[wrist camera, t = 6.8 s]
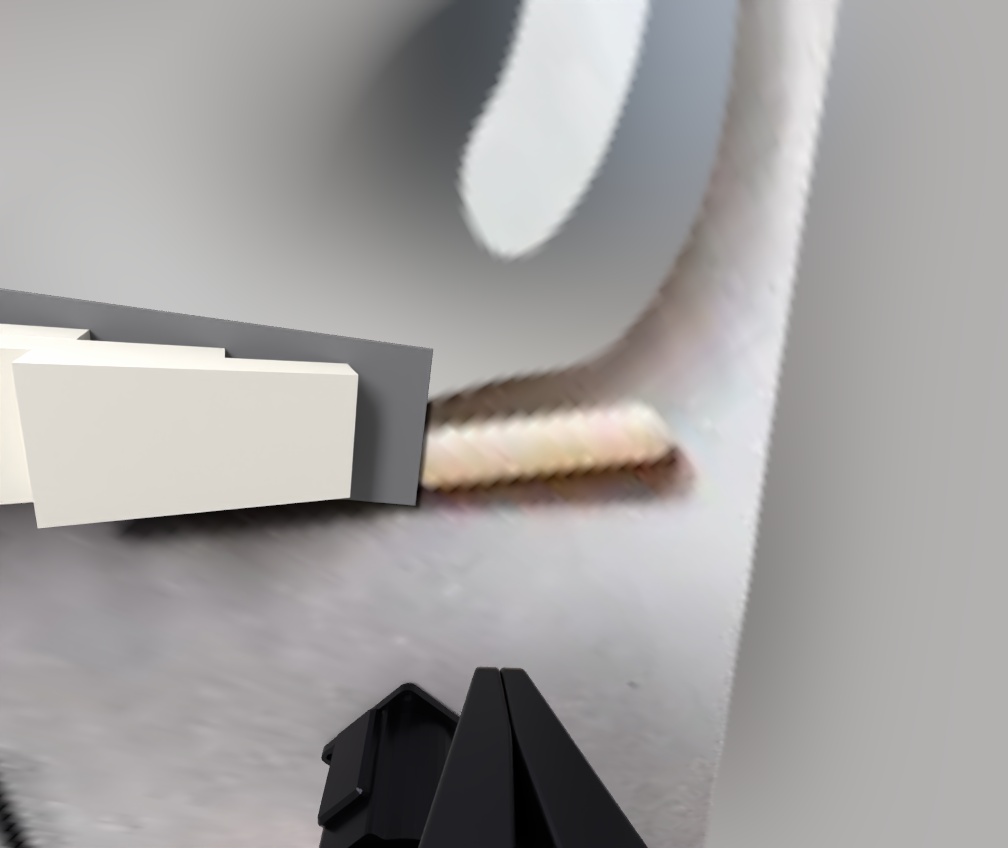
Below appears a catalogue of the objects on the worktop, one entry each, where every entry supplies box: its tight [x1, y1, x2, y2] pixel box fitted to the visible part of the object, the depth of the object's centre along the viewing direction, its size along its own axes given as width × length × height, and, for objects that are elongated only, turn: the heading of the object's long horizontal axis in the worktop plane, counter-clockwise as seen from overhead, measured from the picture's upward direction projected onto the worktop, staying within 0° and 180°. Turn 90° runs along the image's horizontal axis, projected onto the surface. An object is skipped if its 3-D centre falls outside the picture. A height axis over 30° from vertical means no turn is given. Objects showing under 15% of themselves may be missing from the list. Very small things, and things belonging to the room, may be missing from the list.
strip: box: [0, 288, 433, 505], centre depth 18 cm, size 22×7×1 cm, turn 81°
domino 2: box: [12, 349, 358, 528], centre depth 16 cm, size 5×2×9 cm
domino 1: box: [0, 335, 225, 505], centre depth 15 cm, size 5×2×9 cm
